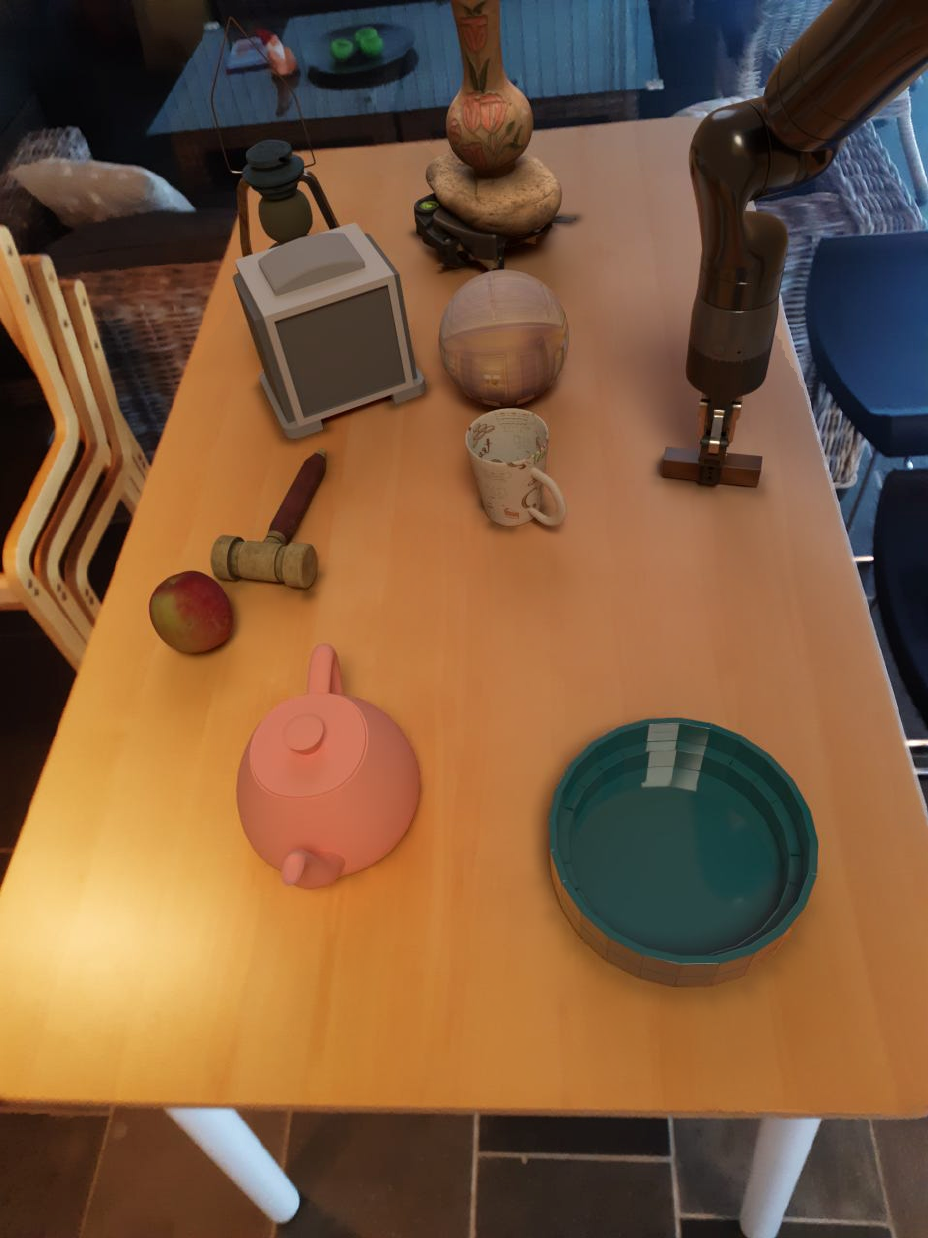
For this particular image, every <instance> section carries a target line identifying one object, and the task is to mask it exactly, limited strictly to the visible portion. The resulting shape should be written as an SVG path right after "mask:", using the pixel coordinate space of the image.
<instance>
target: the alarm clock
mask: <svg viewBox="0 0 928 1238" xmlns="http://www.w3.org/2000/svg"><path fill="white" fill-rule="evenodd" d="M309 235H310V236H305V237H301V238H298V239H295V240H293V241H290V242H288V243H285V244H283V245H281V246H278V247H274V248H271V249H269V248H268V249H266V250H262V251H259V252H255V253H253V254H252V255H249V256H246V257H243V256H242V257H240V258H237V259H234V260H233V262H234V264H235V267H236V270H237V273H235V274H233V275H232V281H233V283H234V286H235V289H236V292H237V295H238V298H239V301H240V305H241V307H242V310H243V313H244V316H245V319H246V323H247V325H248V329H249V332H250V334H251V337H252V340H253V343H254V346H255V350H256V352H257V355H258V358H259V361H260V364H261V367H262V369H263V371H262V372H260V373H259V376H258V379H259V381H260V385H261V387H262V390H263V392H264V394H265V396H266V398H267V400H268V402H269V404H270V407H271V409H272V411H273V413H274V415H275V417H276V420H277V421H278V424H279V425H280V428H281V430H282V432H283V434H284V436H285V438H287V439H289V440H299V439H302V438H304V437H307V436H310V435H313V434H315V433H318V432H321V431H324V427H323V424H322V420H323V419H326V418H329V417H331V416H334V415H337V414H340V413H342V412H345V411H349V410H351V409H352V410H353V409H354V408H356V407H361V406H363V405H366V404H368V403H371V402H374V401H377V400H380V399H383V398H385V397H388V396H389V397H390V398H391V401H392V402H393V403H394V405H398V404H400V403H403V402H406V401H409V400H412V399H415V398H417V397H421V396H423V394H425V392H426V387H427V386H426V381H425V376H424V375H423V373H422V372H421V371H420V369H419V367H418V366H417V365H416V361H415V355H414V349H413V344H412V339H411V332H410V326H409V320H408V316H407V309H406V304H405V298H404V292H403V286H402V281H401V274H400V272H399V271H398V270H397V268H396V267H395V266H394V264H393V263H392V262H391V261H390V259H389V258H388V256H387V255H386V254H385V253H384V251H383V250H382V248H381V247H380V246H379V245H378V243H377V242H376V241H375V239H374V238H373V236H372V235H371V234H370V233H367V232H365V233H364V232H363V230H362V229H361V227H360V226H359V225H358V223H356V221H355V222H354V221H353V222H352V223H348V224H345V225H341V226H340V227H338V228H335V229H332V230H330V229H329V230H326V231H322V232H319V233H316V234H309Z"/></svg>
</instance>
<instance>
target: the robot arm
mask: <svg viewBox="0 0 928 1238" xmlns="http://www.w3.org/2000/svg"><path fill="white" fill-rule="evenodd" d="M927 70H928V0H832V1H831V2H830V3H829V5H828V6H827V7H826V8H825V9H824V10H823V11H821V13H820V14H819V15H818V16H817V18H815V19H814V20H813V22H812V23H811V24H810V25H809V26H808V27H807V28H806V29H805V30H804V32H803V33H802V34H801V35H800V36H799V37H798V38H797V39H796V40H795V42H794V43H792V45H790V47H789V48H788V49H787V50H786V51H785V53H784V54H783V55H782V56H781V58H780V59H779V60H778V62H777V63H776V64H775V66H774V67H773V69H772V70H771V72H770V74H769V76H768V78H767V80H766V84H765V87H764V90H763V95H761V96H758V97H753V98H749V99H747V100H743V101H739V102H735V103H731V104H727V105H724V106H721V107H718V108H716V109H714V110H712V111H710V113H709V112H708V114H706V116H705V117H704V118H703V119H702V120H701V122H700V123H699V124H698V127H697V128H696V130H695V132H694V134H693V137H692V140H691V143H690V146H689V151H688V167H689V175H690V181H691V185H692V190H693V194H694V199H695V204H696V210H697V211H696V212H697V218H698V225H699V233H700V234H699V235H700V242H701V253H700V262H699V273H698V282H697V288H696V294H695V297H694V301H693V304H692V310H691V315H690V323H689V324H690V325H689V334H688V343H687V344H688V345H687V353H686V362H685V377H686V379H687V382H689V385H691V387H693V388H694V389H695V390H697V391H698V392H700V393H701V396H700V400H699V407H698V416H699V417H700V420H699V426H698V433H697V439H698V441H699V445H700V449H699V450H700V453H699V455H700V457H698V462H699V465H700V471H699V479H698V480H697V481H698V483H699V484H702V485H710V486H718V485H719V484H720V477H721V471H722V468H723V467H724V464H726V459H725V457H727V453H728V452H727V451H728V448H730V444H732V443H733V441H734V437H735V430H736V425H737V421H738V420H739V419H740V417H741V412H742V406H743V405H742V404H743V397H744V396H746V395H750V394H752V393H753V392H755V391H757V390H758V389H759V388H760V387H761V386H762V385H763V384H764V383H765V381H766V378H767V375H768V369H769V364H770V359H771V354H772V349H773V343H774V339H775V334H776V328H777V323H778V320H779V319H778V318H779V310H780V306H779V305H780V294H781V287H782V282H783V278H784V272H785V266H786V260H787V256H788V251H789V242H790V241H789V238H790V237H789V231H788V228H787V226H786V225H785V222H783V221H782V220H781V219H780V218H778V217H777V216H776V215H773V214H770V213H767V212H763V211H758V210H757V211H756V210H747V207H748V204H749V203H751V202H755V201H758V200H761V199H764V198H768V197H772V196H775V195H778V194H782V193H785V192H789V191H793V190H795V189H798V188H801V187H803V186H805V185H807V184H809V183H810V182H812V181H813V180H815V179H817V178H818V177H820V176H821V175H822V174H824V173H825V172H826V171H827V170H828V169H829V168H830V167H831V165H832V164H833V162H834V161H835V160H836V158H837V157H838V155H839V153H840V152H841V150H842V149H843V148H844V146H845V144H846V142H847V140H848V139H849V137H850V136H851V135H852V134H853V133H854V132H855V131H857V130H858V129H860V128H861V127H862V126H863V125H864V124H865V123H867V122H868V121H870V119H872V118H873V117H874V116H876V115H877V114H878V113H880V112H881V111H882V110H883V109H884V108H885V107H887V106H888V105H889V104H890V103H891V102H893V101H894V100H895V99H896V98H897V97H898V96H900V95H901V94H902V93H903V92H904V91H906V90H907V88H909V87H910V86H911V85H912V84H914V82H915V81H917V79H918V78H920V77H921V76H922V75H923V74H924V73H925V72H926V71H927Z"/></svg>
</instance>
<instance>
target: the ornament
mask: <svg viewBox="0 0 928 1238" xmlns="http://www.w3.org/2000/svg"><path fill="white" fill-rule="evenodd" d="M569 345H570V331H569V323H568V319H567V316H566V313H565V310H564V308H563V305H562V304H561V302H560V300H559V299H558V297H557V295H556V294H555V293H554V292H553V291H552V290H551V288H550V287H548V286H547V285H546V284H545V283H544V282H543V281H541V280H540V279H539V278H536V277H535V276H532V275H530V274H529V273H526V272H523V271H519V270H514V269H504V270H499V269H494V270H492V271H490V272H489V271H486V272H483V273H481V274H479V275H477V276H474V277H473V278H471V279H469V280H468V281H467V282H465V283H464V284H463V285H462V286H460V287H459V288H458V290H457V291H456V292H455V293H454V294H453V295H452V297H451V298H450V299H449V301H448V303H447V305H446V306H445V309H444V310H443V314H442V316H441V319H440V323H439V329H438V349H439V355H440V359H441V362H442V365H443V367H444V370H445V371H446V373H447V375H448V376H449V378H450V380H451V381H452V382H453V383H454V385H455V387H457V388H458V389H459V390H460V391H461V392H462V393H464V394H465V395H466V396H468V397H469V398H471V399H472V400H475V401H477V402H479V403H481V404H483V405H488V406H493V407H513V406H514V407H515V406H519V405H521V404H525V403H527V402H530V401H532V400H534V399H536V398H538V397H539V396H540V395H542V393H544V392H545V391H546V390H547V389H549V388H550V387H551V385H552V384H553V383H554V382H555V380H556V379H557V378H558V376H559V374H560V373H561V371H562V370H563V366H564V365H565V362H566V359H567V356H568V351H569Z"/></svg>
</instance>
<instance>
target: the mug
mask: <svg viewBox="0 0 928 1238" xmlns="http://www.w3.org/2000/svg"><path fill="white" fill-rule="evenodd" d="M549 432H550V431H549V429H548V426H547V424H546V422H545V420H543V418H542V417H540V416H538V414H535V413H534V412H531V411H529V410H525V409H522V408H500V409H495V410H492V411H489V412H487V413H484V414H483V415H481V416H479V417H477V418H476V419H475V420H474V421H473V422H472V423H471V424H470V425H469V427H468V428H467V431H466V432H465V433H466V434H465V438H464V440H465V441H464V442H465V447H466V451H467V455H468V458H469V462H470V465H471V468H472V472H473V475H474V478H475V482H476V485H477V488H478V492H479V495H480V498H481V501H482V506H483V508H484V511H485V513H486V515H487V517H488V518H489V519H490V520H491V521H492V522H494V523H496V524H499V525H500V526H506V527H515V526H520V525H524V524H526V523H528V522H530V521H531V520H533V519H534V518H535V519H536V520H537V521H539V522H540V523H542V524H543V525H546V526H552V527H553V526H559V525H561V524H562V523H564V522H565V520H566V518H567V515H568V508H567V503H566V500H565V499H566V498H565V497H564V495H563V493H562V491H561V489H560V487H559V486H558V485H557V483H556V481H554V480H553V478H551V477H550V475H548V474H546V468H547V467H546V466H547V459H548V451H549V442H550V433H549ZM544 487H545V488H547V490H548V491H549V493H550V494H551V496H552V498H553V501H554V503H555V507H556V511H555V513H554V514H553V515H550V516H548V515H545V514H543V513H542V511H540V509H541V503H542V498H543V497H542V496H543V489H544Z"/></svg>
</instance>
